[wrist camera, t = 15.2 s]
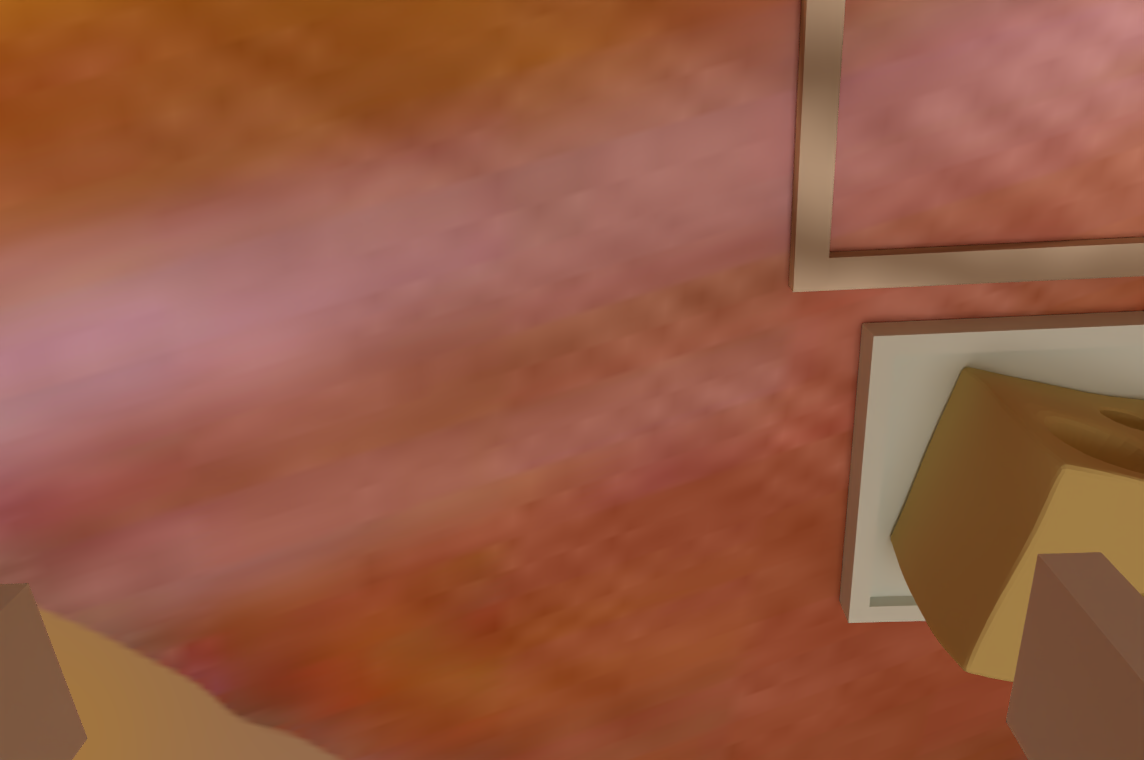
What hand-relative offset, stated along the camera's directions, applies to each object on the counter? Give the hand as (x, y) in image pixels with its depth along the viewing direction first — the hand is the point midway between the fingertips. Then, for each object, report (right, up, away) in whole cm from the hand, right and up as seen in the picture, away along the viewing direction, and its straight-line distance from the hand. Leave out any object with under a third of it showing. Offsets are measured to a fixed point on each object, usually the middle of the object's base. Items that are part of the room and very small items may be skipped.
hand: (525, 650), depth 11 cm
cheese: (+22, -1, +30) cm, 37 cm away
